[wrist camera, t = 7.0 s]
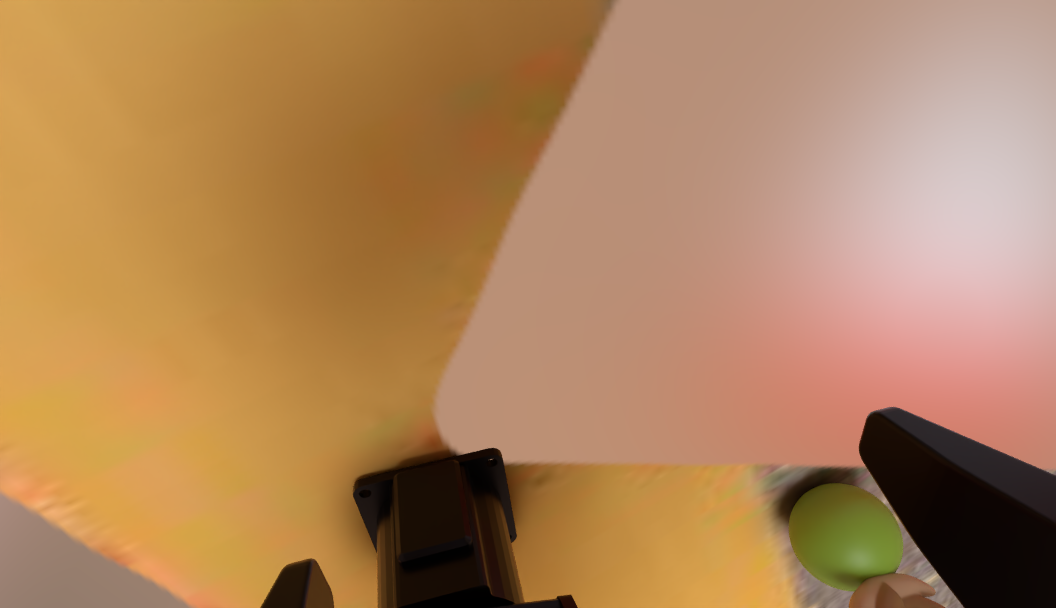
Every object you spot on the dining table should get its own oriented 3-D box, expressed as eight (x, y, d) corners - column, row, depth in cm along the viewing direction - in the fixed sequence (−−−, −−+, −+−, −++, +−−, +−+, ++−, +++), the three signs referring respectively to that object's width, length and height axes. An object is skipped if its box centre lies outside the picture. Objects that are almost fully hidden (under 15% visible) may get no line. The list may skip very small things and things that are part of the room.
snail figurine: (770, 470, 32) (948, 716, 22) (870, 457, 33) (1079, 682, 24) (743, 534, 35) (890, 776, 25) (836, 519, 36) (1009, 743, 26)
